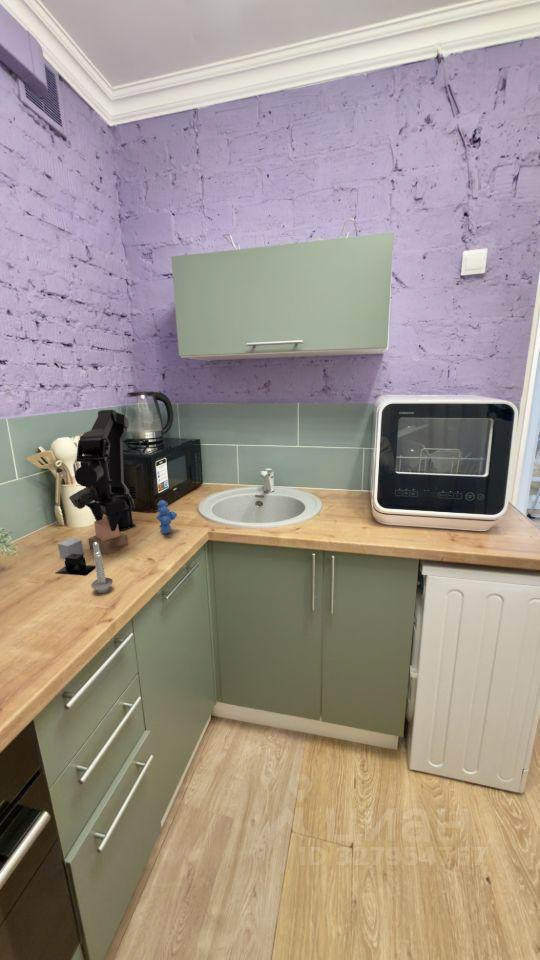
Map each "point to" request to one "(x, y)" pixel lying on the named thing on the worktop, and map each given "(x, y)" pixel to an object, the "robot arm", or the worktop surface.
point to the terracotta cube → (105, 530)
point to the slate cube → (70, 547)
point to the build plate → (76, 566)
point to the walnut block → (109, 543)
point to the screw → (100, 572)
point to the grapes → (165, 516)
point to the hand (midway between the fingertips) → (106, 527)
